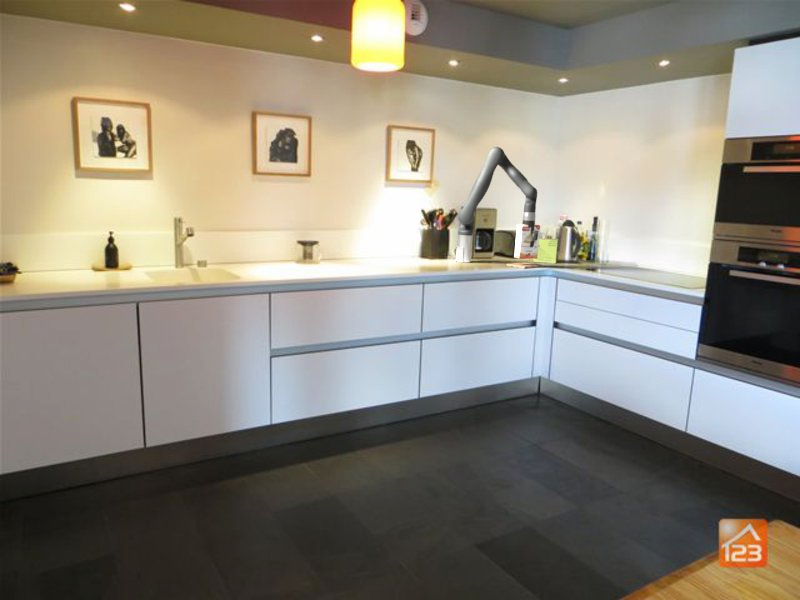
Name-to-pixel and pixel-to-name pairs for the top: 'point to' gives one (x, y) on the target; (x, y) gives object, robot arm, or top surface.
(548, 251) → the protein box
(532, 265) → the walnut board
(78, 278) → the top surface
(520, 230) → the cracker box
